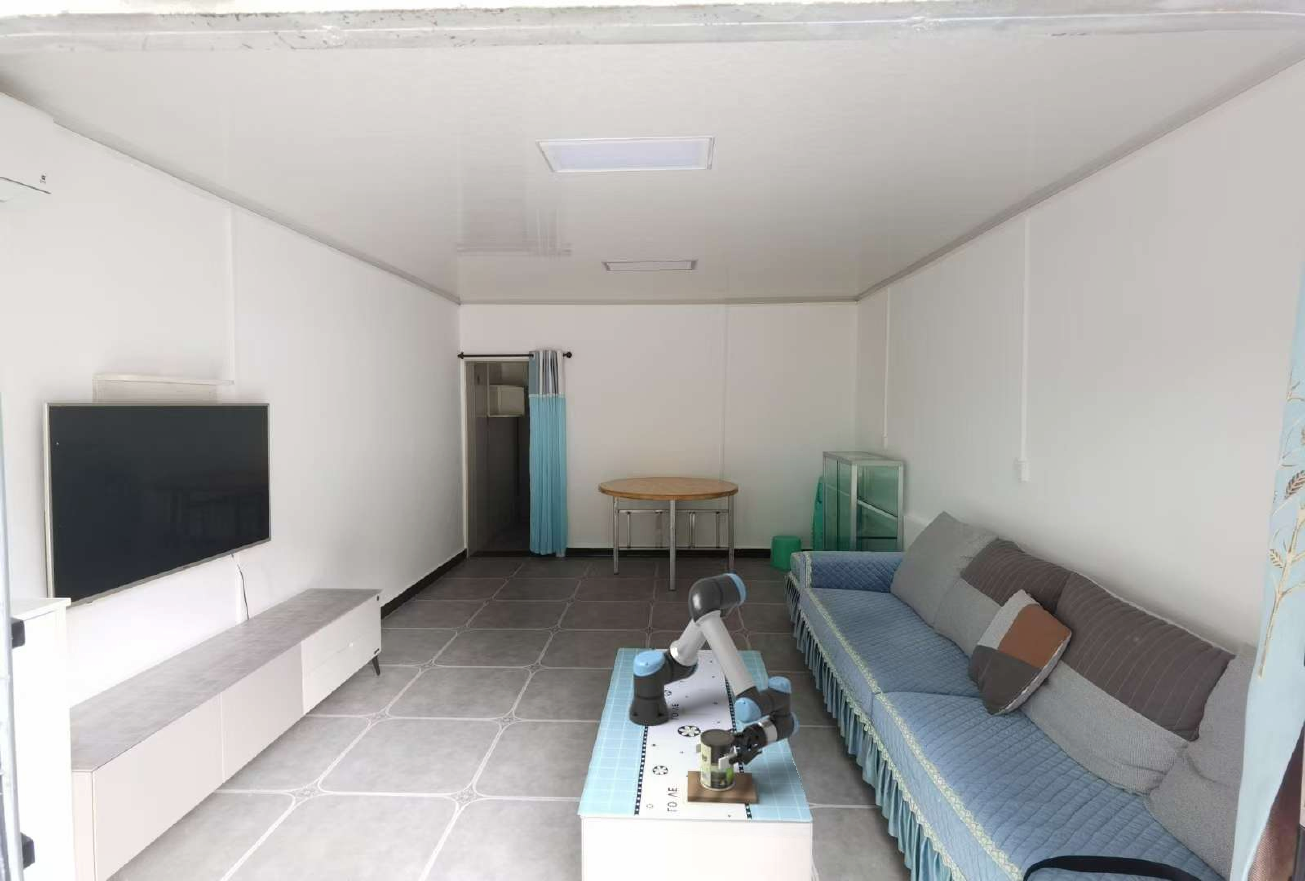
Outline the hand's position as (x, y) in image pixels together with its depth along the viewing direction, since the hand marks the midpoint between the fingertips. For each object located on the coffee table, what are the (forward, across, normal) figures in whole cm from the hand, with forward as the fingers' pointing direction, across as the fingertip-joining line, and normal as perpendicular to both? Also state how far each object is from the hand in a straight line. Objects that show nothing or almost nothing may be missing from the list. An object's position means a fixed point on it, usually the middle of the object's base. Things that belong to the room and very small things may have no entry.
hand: (706, 756), depth 195 cm
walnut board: (-4, -1, -11) cm, 12 cm away
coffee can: (-4, 0, -10) cm, 10 cm away
